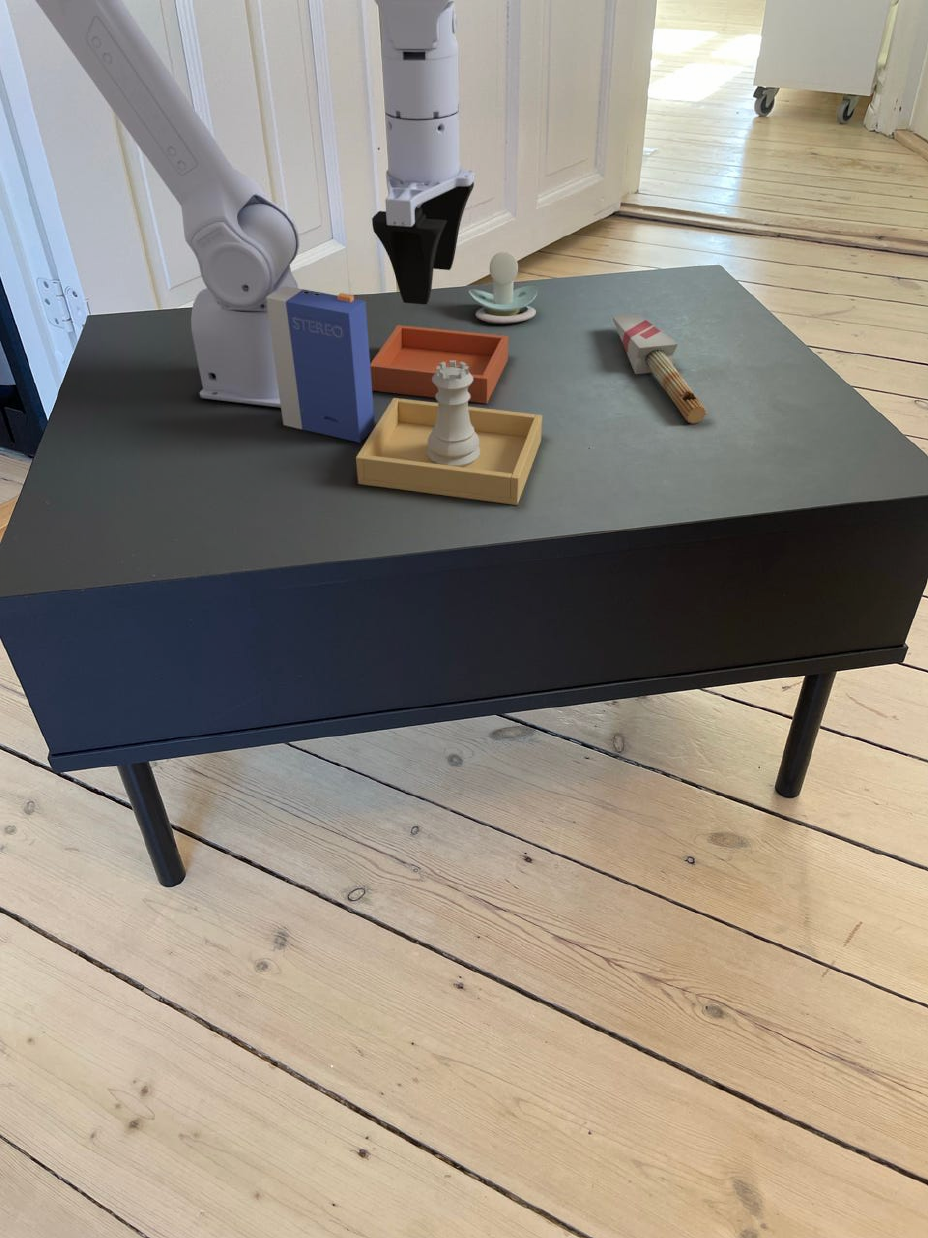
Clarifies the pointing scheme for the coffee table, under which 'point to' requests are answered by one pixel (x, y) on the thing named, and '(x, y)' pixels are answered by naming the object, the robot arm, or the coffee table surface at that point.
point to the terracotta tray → (437, 360)
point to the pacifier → (504, 293)
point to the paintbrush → (657, 361)
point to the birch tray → (405, 465)
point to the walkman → (322, 362)
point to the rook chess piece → (453, 418)
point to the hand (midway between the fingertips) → (428, 284)
